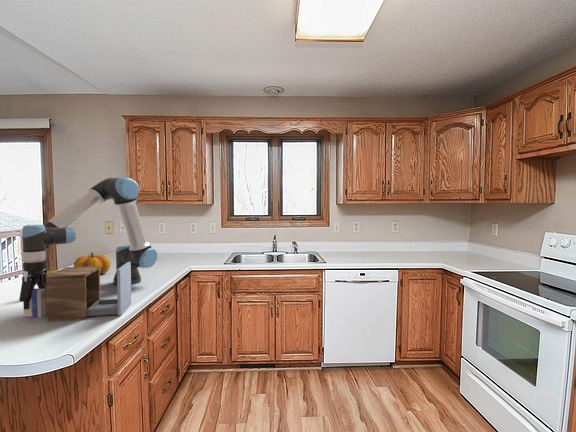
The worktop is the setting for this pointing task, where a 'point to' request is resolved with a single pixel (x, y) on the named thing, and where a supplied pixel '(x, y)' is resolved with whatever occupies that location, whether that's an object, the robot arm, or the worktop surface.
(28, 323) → the worktop surface
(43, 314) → the walkman
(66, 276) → the block
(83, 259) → the decorative pumpkin
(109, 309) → the drawer
